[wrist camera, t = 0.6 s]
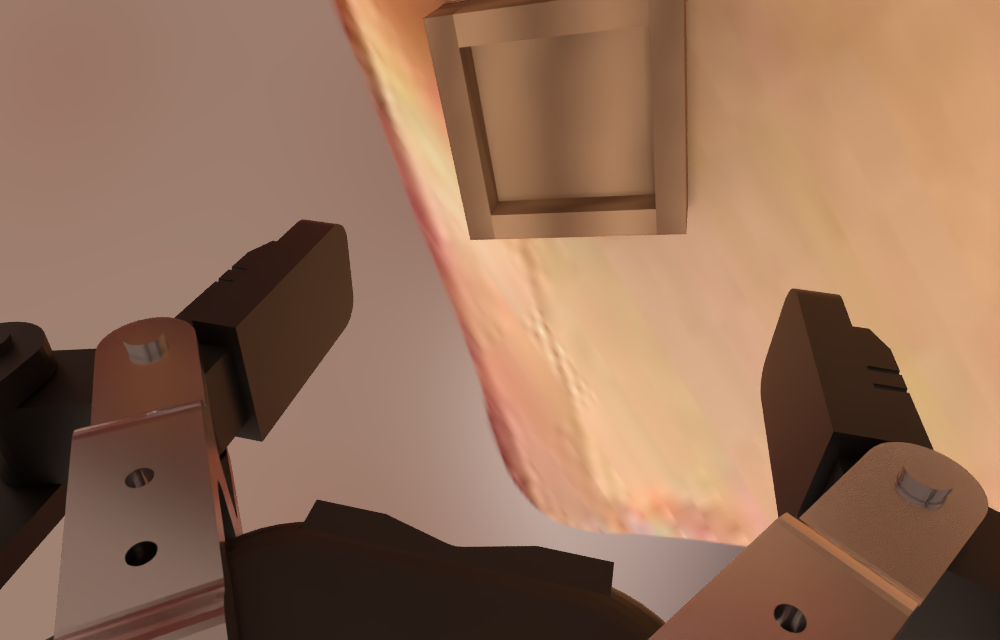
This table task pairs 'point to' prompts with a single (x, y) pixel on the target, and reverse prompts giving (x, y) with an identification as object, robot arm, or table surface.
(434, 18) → the brown wooden tray
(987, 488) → the table surface
